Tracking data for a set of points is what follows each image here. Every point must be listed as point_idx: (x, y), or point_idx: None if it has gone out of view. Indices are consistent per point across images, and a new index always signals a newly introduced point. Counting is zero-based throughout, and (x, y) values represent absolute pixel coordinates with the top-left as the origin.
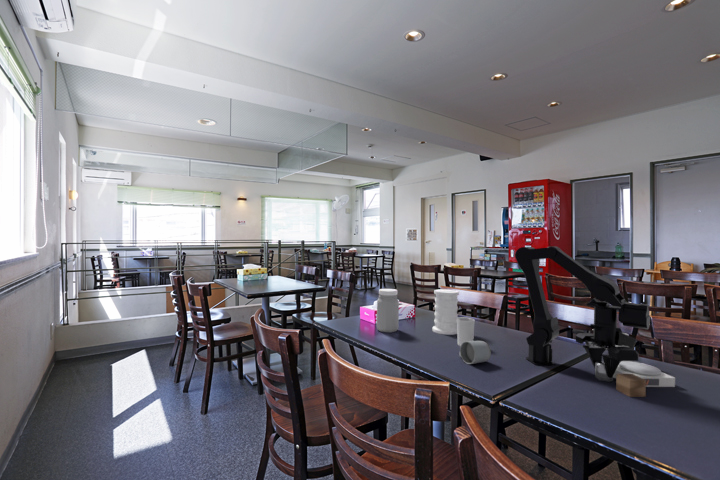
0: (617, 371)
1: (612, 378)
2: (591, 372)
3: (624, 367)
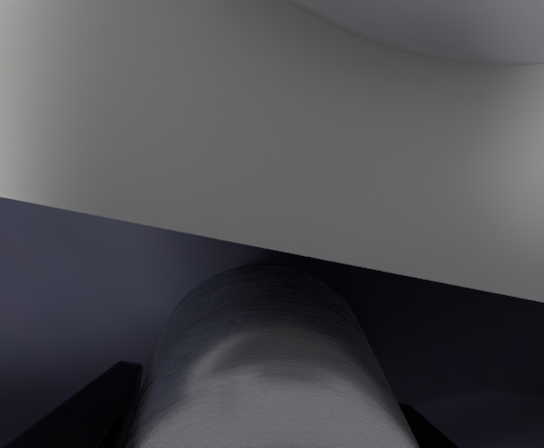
0: (389, 269)
1: (368, 342)
2: (27, 337)
3: (465, 52)
